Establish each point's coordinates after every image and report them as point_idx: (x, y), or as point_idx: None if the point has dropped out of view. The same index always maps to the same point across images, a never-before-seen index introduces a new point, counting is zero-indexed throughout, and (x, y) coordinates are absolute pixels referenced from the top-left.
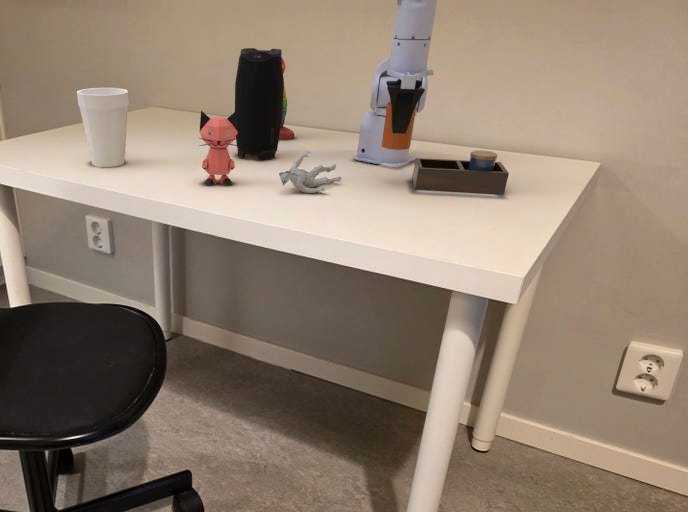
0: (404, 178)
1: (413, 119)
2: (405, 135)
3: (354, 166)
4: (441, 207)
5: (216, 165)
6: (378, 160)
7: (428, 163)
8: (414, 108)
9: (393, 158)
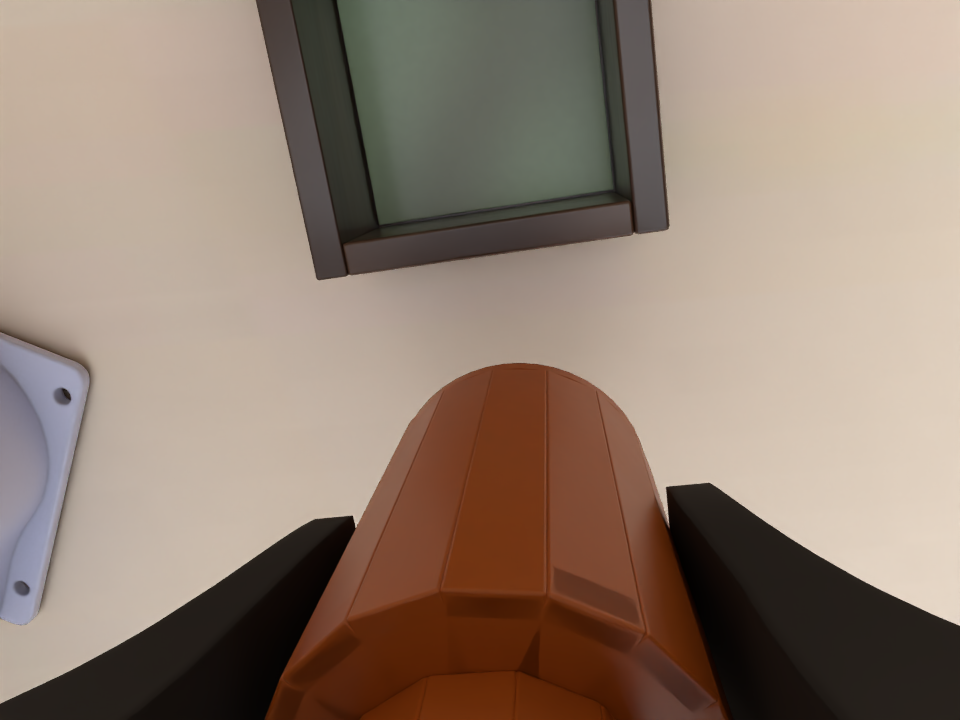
0: (305, 303)
1: (571, 486)
2: (644, 466)
3: (162, 601)
4: (946, 3)
5: None
6: (39, 496)
7: (335, 166)
8: (921, 612)
9: (11, 418)
